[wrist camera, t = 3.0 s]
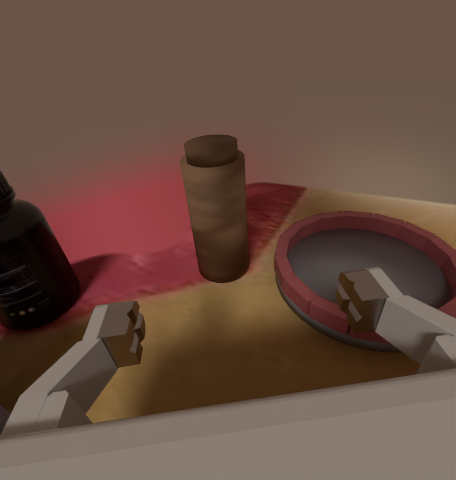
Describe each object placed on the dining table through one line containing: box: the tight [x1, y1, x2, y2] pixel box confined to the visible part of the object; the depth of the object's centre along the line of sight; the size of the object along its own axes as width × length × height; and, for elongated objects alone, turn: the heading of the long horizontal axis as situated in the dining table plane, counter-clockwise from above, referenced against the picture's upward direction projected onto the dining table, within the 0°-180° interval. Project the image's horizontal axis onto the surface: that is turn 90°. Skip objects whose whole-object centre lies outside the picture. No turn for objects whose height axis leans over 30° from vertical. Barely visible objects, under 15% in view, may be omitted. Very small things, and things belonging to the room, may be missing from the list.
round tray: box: [274, 211, 456, 352], centre depth 25 cm, size 15×15×2 cm
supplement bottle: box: [0, 171, 80, 330], centre depth 22 cm, size 7×7×12 cm
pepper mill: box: [180, 135, 249, 283], centre depth 25 cm, size 5×5×12 cm
